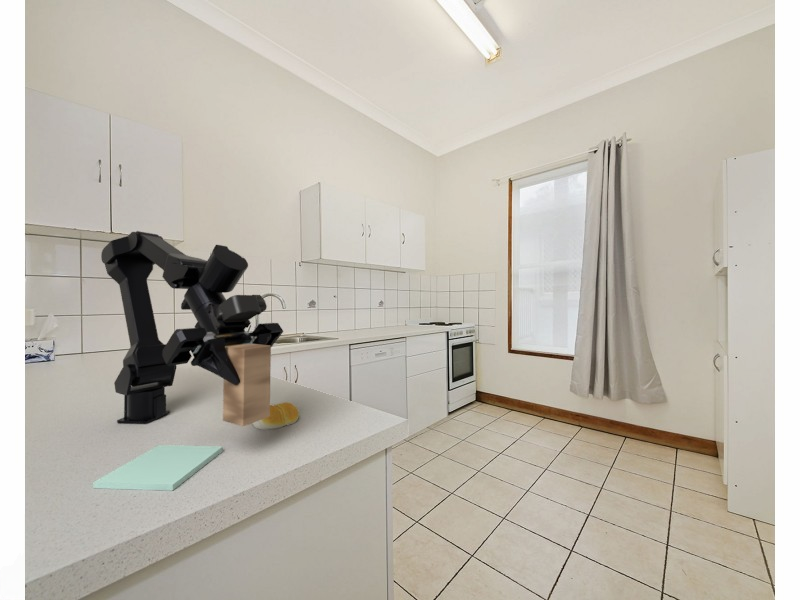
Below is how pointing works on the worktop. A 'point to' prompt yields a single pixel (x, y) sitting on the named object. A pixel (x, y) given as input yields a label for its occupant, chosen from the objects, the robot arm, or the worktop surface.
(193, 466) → the green board
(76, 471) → the worktop surface
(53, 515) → the worktop surface
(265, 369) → the walnut block
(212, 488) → the worktop surface
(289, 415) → the bread roll
